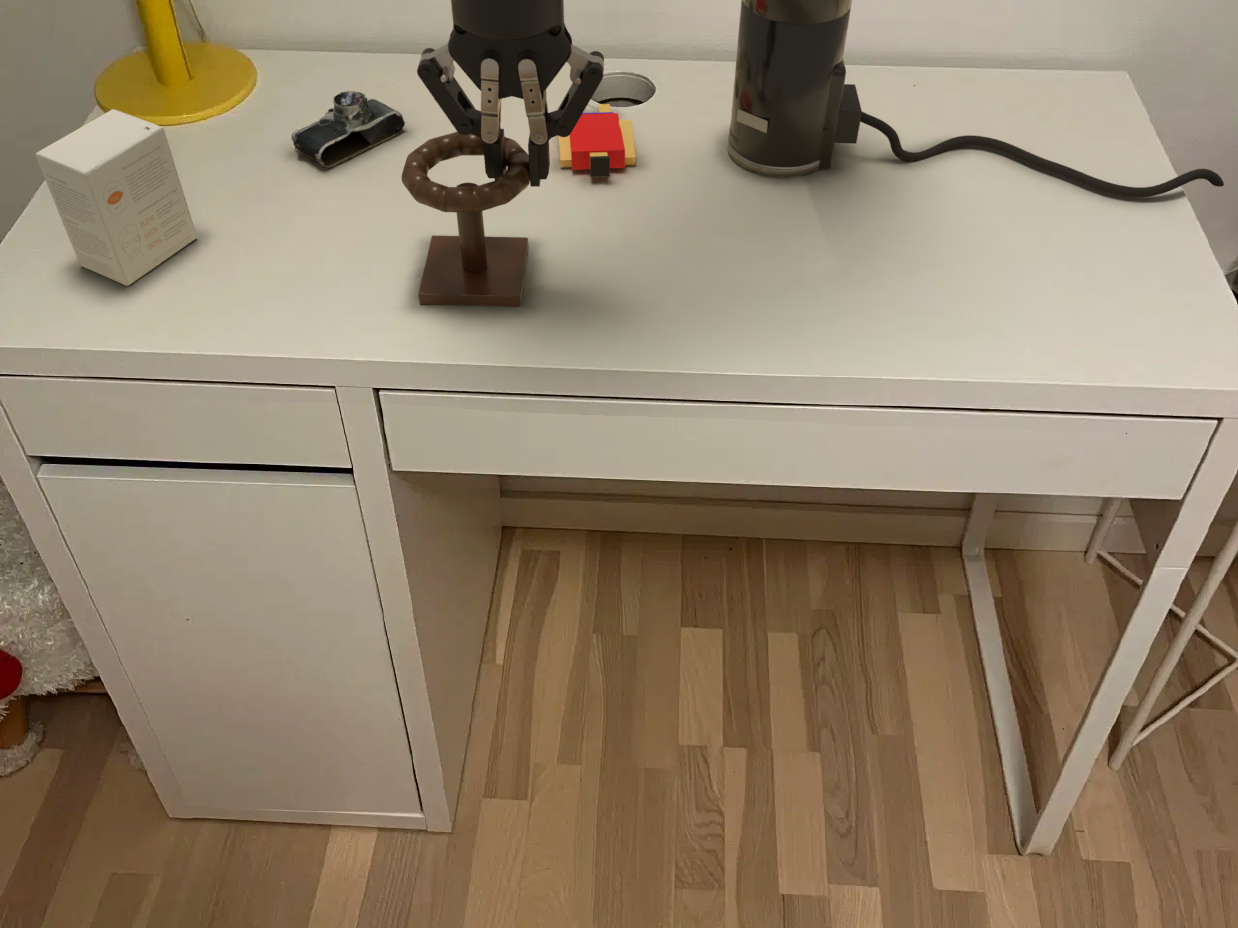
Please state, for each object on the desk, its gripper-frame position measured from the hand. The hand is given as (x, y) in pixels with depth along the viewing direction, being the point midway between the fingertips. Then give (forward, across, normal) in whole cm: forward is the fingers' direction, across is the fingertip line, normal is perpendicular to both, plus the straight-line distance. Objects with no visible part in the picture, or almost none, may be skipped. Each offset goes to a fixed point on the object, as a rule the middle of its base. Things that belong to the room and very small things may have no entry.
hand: (519, 180), depth 87 cm
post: (+9, -4, 0) cm, 10 cm away
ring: (-1, -4, 0) cm, 4 cm away
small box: (+9, -32, +2) cm, 33 cm away
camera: (+9, -18, +20) cm, 28 cm away
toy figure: (+9, +5, +20) cm, 22 cm away
